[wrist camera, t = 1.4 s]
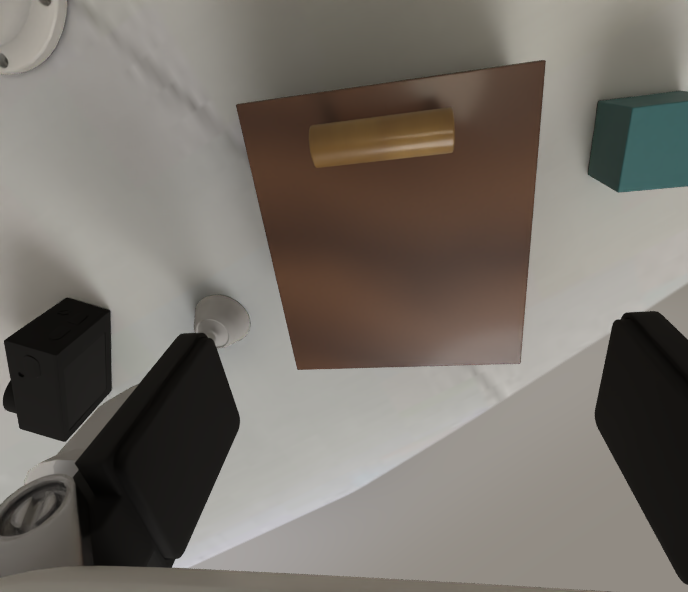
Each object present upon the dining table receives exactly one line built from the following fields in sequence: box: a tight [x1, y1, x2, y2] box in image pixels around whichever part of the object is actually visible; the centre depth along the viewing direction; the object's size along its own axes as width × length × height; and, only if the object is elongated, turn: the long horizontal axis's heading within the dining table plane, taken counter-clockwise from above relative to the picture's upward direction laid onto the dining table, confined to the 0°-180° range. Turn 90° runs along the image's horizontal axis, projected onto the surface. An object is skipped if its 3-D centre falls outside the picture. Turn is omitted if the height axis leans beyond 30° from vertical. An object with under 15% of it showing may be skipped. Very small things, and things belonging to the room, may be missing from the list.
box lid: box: [236, 60, 546, 370], centre depth 23 cm, size 17×15×5 cm
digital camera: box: [3, 298, 111, 442], centre depth 38 cm, size 10×5×7 cm, turn 164°
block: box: [588, 91, 688, 192], centre depth 24 cm, size 4×4×4 cm
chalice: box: [24, 295, 250, 485], centre depth 29 cm, size 7×7×18 cm
